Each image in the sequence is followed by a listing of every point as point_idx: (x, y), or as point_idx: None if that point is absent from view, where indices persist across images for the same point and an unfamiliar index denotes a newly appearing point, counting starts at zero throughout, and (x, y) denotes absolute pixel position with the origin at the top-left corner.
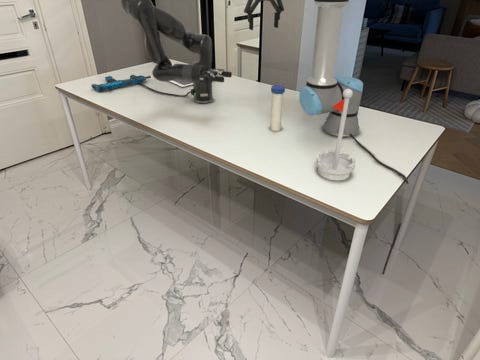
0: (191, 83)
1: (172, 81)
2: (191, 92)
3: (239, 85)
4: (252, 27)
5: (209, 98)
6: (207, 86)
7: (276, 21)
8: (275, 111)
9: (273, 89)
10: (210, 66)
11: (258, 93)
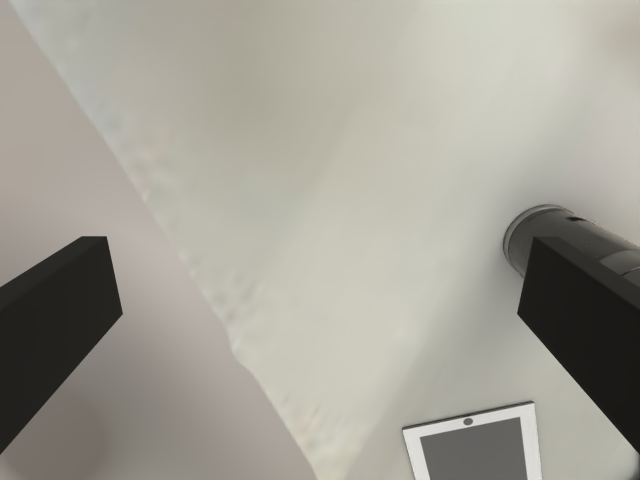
0: (484, 422)
1: (533, 464)
2: None
3: (318, 342)
4: (567, 250)
5: (545, 213)
6: (587, 230)
7: (52, 298)
8: None
9: None
10: None
11: (289, 223)
